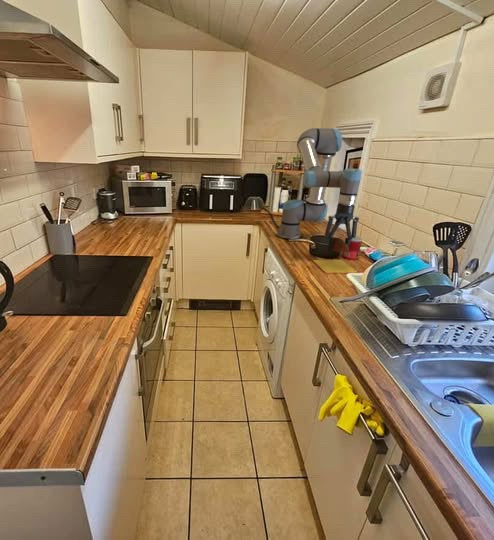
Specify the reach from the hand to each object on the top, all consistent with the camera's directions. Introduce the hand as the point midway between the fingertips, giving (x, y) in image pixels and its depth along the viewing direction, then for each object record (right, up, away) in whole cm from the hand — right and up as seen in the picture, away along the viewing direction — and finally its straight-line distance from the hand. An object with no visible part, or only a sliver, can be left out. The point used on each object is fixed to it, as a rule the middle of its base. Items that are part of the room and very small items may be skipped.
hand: (337, 250), depth 148 cm
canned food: (+13, -3, +16) cm, 21 cm away
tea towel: (0, -8, +3) cm, 8 cm away
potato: (0, 0, 0) cm, 1 cm away
